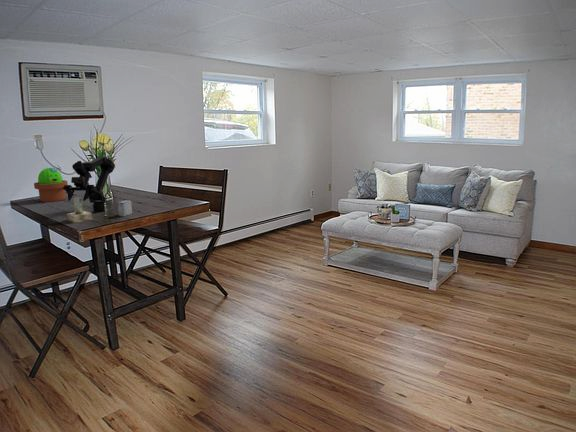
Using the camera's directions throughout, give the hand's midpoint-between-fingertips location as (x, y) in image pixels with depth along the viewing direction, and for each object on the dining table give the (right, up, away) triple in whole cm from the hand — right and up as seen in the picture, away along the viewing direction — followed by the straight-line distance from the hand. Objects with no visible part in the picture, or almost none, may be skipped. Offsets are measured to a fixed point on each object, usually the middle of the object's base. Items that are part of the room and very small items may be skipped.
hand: (76, 200), depth 260 cm
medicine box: (+24, -9, +15) cm, 30 cm away
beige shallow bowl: (0, -11, +4) cm, 12 cm away
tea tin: (0, -7, +3) cm, 8 cm away
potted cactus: (-52, +3, +71) cm, 88 cm away
